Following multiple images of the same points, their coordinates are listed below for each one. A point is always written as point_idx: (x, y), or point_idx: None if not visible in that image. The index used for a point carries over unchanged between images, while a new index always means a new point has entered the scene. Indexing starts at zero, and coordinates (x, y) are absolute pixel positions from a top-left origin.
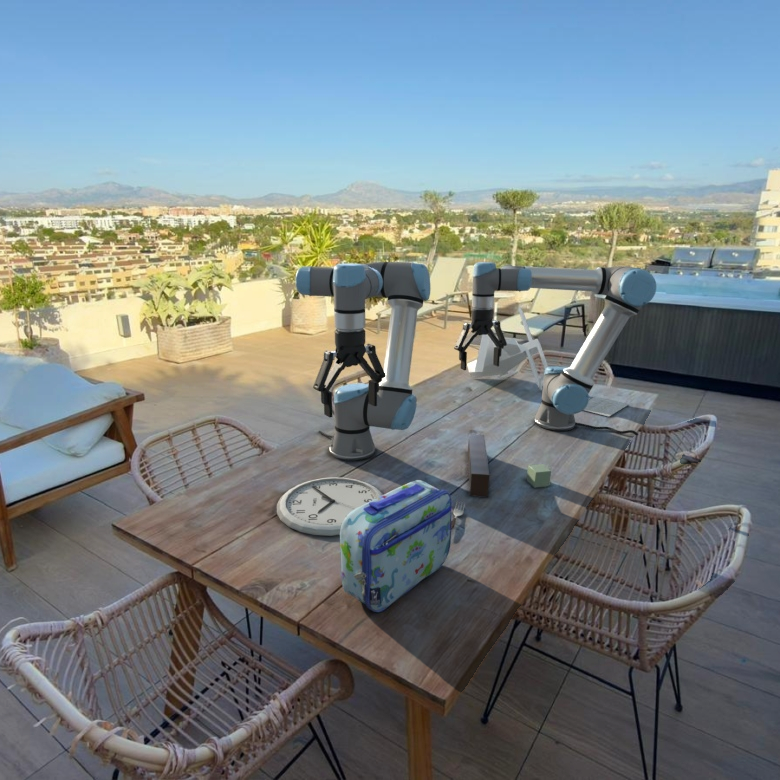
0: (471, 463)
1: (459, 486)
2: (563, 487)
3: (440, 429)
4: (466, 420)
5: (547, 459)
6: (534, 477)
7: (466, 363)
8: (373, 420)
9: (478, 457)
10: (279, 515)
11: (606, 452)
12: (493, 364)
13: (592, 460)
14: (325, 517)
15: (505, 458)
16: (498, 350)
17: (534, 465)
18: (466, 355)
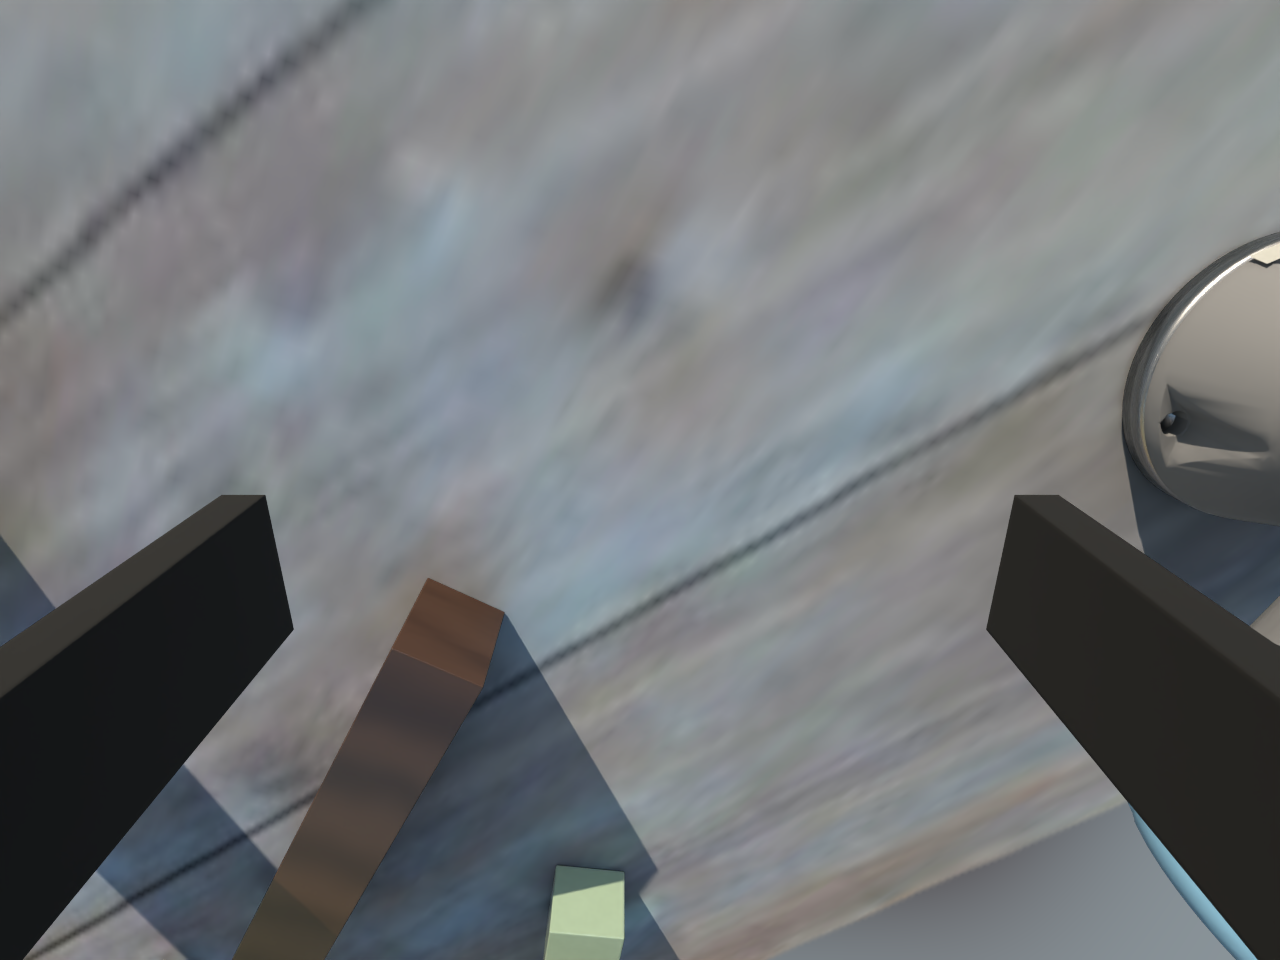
0: (249, 931)
1: (249, 831)
2: (660, 935)
3: (404, 159)
4: (711, 36)
5: (786, 753)
6: (544, 950)
7: (219, 718)
8: None
9: (310, 896)
10: None
11: None
12: (1015, 512)
13: (972, 815)
14: None
15: (594, 688)
16: (1252, 938)
17: (576, 941)
18: (67, 890)
